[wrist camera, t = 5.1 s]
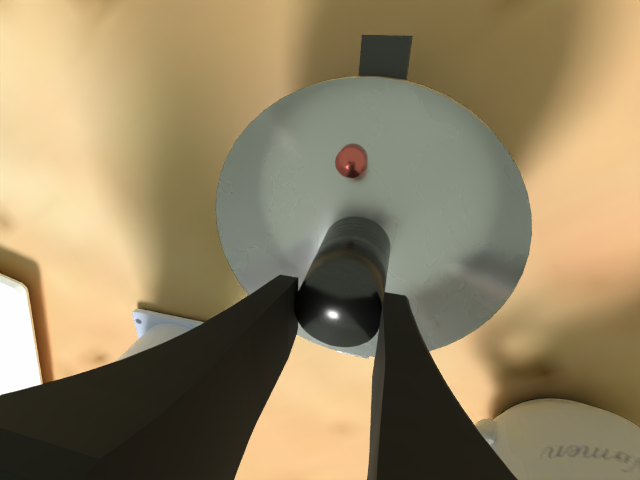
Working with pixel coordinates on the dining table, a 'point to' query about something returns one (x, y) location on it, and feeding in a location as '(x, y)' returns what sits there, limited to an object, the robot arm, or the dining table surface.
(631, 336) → the dining table surface
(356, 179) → the lid
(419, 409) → the robot arm
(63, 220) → the dining table surface
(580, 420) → the teacup
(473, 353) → the dining table surface
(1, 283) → the plate
